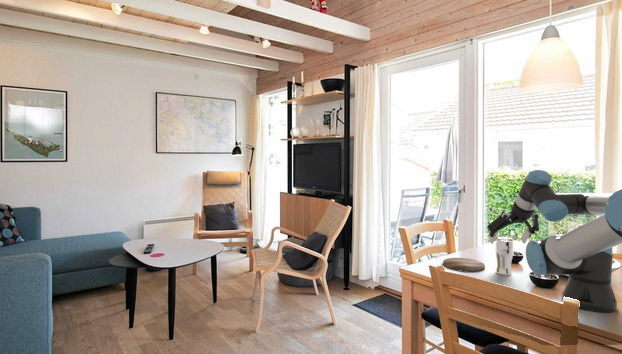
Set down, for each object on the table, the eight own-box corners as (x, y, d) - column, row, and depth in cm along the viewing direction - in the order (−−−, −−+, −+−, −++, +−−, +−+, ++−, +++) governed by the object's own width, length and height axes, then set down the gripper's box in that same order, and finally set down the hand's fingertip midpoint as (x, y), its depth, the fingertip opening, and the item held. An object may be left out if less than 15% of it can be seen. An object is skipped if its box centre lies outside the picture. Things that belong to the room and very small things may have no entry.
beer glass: (515, 276, 156) (516, 241, 155) (497, 275, 157) (498, 240, 156) (509, 271, 163) (510, 237, 162) (492, 270, 164) (493, 237, 163)
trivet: (492, 271, 162) (492, 269, 162) (452, 272, 162) (452, 269, 162) (474, 260, 180) (474, 257, 180) (437, 260, 180) (437, 257, 180)
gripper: (552, 198, 145) (531, 234, 158) (489, 198, 144) (474, 234, 158) (562, 211, 139) (540, 247, 152) (497, 211, 139) (480, 247, 152)
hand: (506, 241), depth 155 cm, fingers open, 13 cm apart
